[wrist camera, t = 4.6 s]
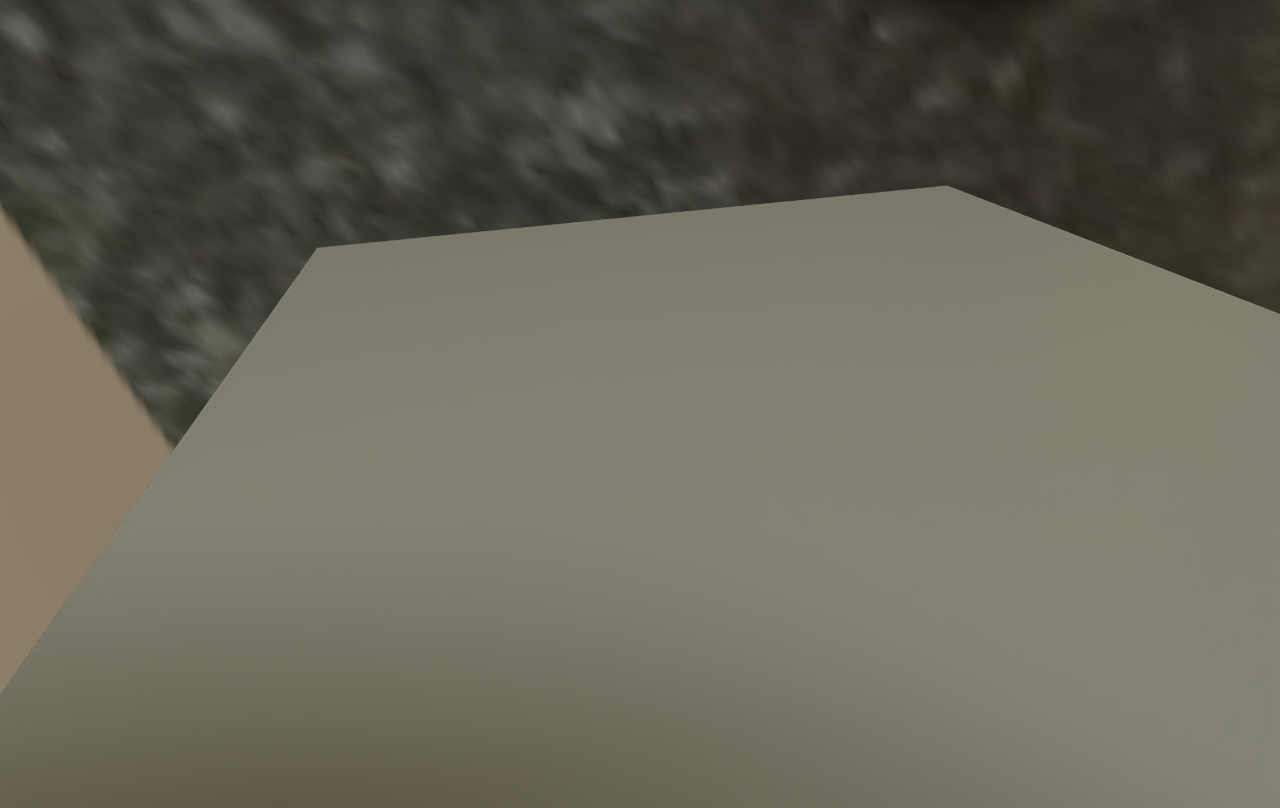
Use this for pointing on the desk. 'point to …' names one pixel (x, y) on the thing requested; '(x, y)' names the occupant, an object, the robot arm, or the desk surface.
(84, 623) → the plain beige cube
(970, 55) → the desk surface
